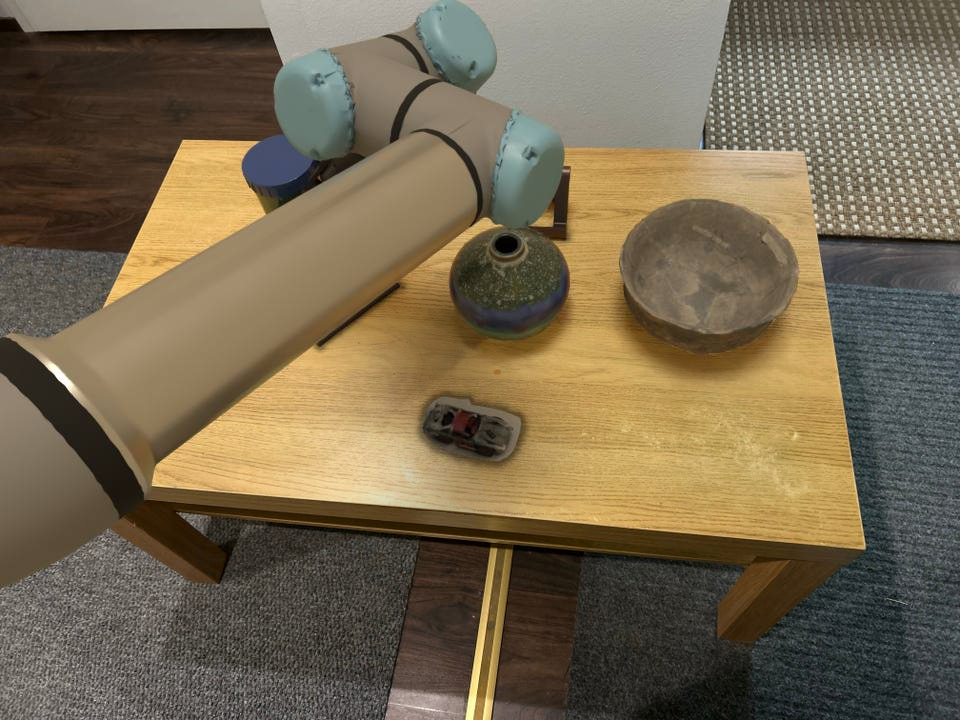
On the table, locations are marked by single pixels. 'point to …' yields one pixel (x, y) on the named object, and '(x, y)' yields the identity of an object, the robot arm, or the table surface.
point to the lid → (276, 168)
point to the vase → (509, 283)
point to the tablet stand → (558, 208)
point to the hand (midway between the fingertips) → (280, 221)
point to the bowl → (707, 275)
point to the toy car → (471, 429)
